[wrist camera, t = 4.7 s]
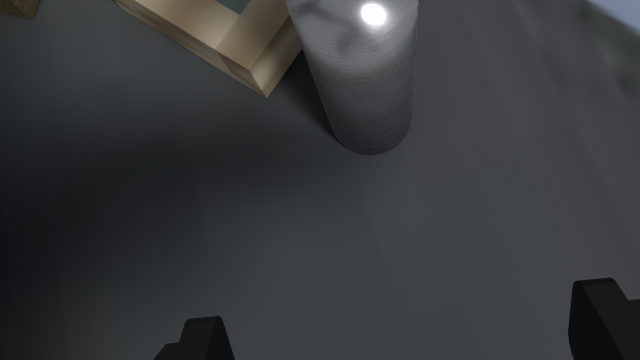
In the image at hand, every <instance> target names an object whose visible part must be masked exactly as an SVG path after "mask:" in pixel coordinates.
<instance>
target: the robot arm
mask: <svg viewBox="0 0 640 360" xmlns="http://www.w3.org/2000/svg"><path fill="white" fill-rule="evenodd" d="M568 337H569V344H570V348H571V352H572V355H573V358H574V360H640V299H637V300H628V299H627V298H626V296H625V295H624V293H623V292H622V290H621V289H620V287H619V286H618V284H617V283H616V281H615V280H614V279H612V278H601V279H590V280H580V281H575V282H574V284H573V288H572V298H571V308H570V318H569V328H568ZM154 360H235V358H234V355H233V352H232V349H231V345H230V342H229V339H228V336H227V333H226V329H225V326H224V323H223V320H222V318H221V317H220V316H214V317H203V318H193V319H188V320H187V321H186V322H185V325H184V328H183V331H182V334H181V338H180V341H179V343H169V344H166V345H165V346H164V347H163V348H162V350H161V351H160V352H159V353H158V355H157V356H156V357H155V358H154Z"/></svg>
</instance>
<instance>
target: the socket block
mask: <svg viewBox="0 0 640 360" xmlns="http://www.w3.org/2000/svg"><path fill="white" fill-rule="evenodd" d="M115 1H116V3H117V4H118V5H119V6H120V7H121V8H122V9H123V10H124V11H126V12H127V13H129V14H131V15H132V16H134V17H136V18H137V19H139V20H140V21H142V22H144V23H145V24H147V25H148V26H150V27H152V28H153V29H155V30H156V31H158V32H160V33H161V34H163V35H165V36H166V37H168V38H169V39H171V40H173V41H174V42H176V43H177V44H179V45H181V46H182V47H184V48H186V49H187V50H189V51H190V52H192V53H194V54H195V55H197V56H198V57H200V58H202V59H203V60H205V61H207V62H208V63H210V64H211V65H213V66H215V67H216V68H218V69H219V70H221V71H223V72H224V73H226V74H228V75H229V76H231V77H232V78H234V79H236V80H237V81H239V82H240V83H242V84H244V85H245V86H247V87H248V88H250V89H252V90H253V91H255V92H257V93H258V94H260V95H261V96H263V97H265V98H266V99H267V98H268V96H269V95H270V93H271V92H272V91H273V89H274V88H275V86H276V85H277V84H278V82H279V81H280V79H281V78H282V77H283V75H284V74H285V72H286V71H287V70H288V68H289V67H290V65H291V64H292V63H293V61H294V60H295V58H296V57H297V55H298V54H299V53H300V51H301V50H302V46H301V43H300V40H299V38H298V35H297V32H296V29H295V27H294V24H293V21H292V18H291V16H290V13H289V10H288V7H287V5H286V2H285V0H115Z"/></svg>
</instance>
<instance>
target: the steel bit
mask: <svg viewBox="0 0 640 360" xmlns="http://www.w3.org/2000/svg"><path fill="white" fill-rule="evenodd" d="M285 2H286V5H287V7H288V10H289V13H290V16H291V18H292V21H293V24H294V27H295V29H296V32H297V35H298V38H299V40H300V43H301V46H302V49H303V51H304V54H305V57H306V60H307V62H308V65H309V68H310V71H311V73H312V76H313V79H314V82H315V84H316V87H317V90H318V93H319V95H320V98H321V101H322V104H323V106H324V109H325V112H326V115H327V117H328V120H329V123H330V126H331V128H332V131H333V133H334V135H335V137H336V138H337V140H338V141H339V142H340V143H341V144H342V145H343V146H344V147H346V148H347V149H349V150H350V151H352V152H355V153H358V154H362V155H376V154H381V153H384V152H387V151H389V150H391V149H392V148H394V147H395V146H397V145H398V144H399V143H400V142H401V141H402V139H403V138H404V137H405V135H406V134H407V132H408V129H409V126H410V123H411V111H412V95H413V79H414V63H415V47H416V31H417V15H418V0H285Z"/></svg>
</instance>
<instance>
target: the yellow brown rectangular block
mask: <svg viewBox="0 0 640 360" xmlns="http://www.w3.org/2000/svg"><path fill="white" fill-rule="evenodd" d="M38 2H39V0H0V13H3V14H9V15H14V16H19V17H25V18H30V19H32V18H33V15H34V12H35V10H36V7H37V5H38Z"/></svg>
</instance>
